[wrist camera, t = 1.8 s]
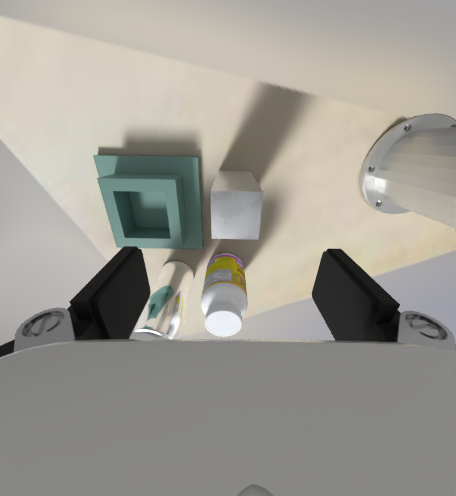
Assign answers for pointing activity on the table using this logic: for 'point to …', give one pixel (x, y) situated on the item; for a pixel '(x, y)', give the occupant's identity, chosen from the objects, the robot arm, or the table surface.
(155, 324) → the beer glass
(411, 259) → the table surface
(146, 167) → the well
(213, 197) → the silver square block
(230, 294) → the supplement bottle
